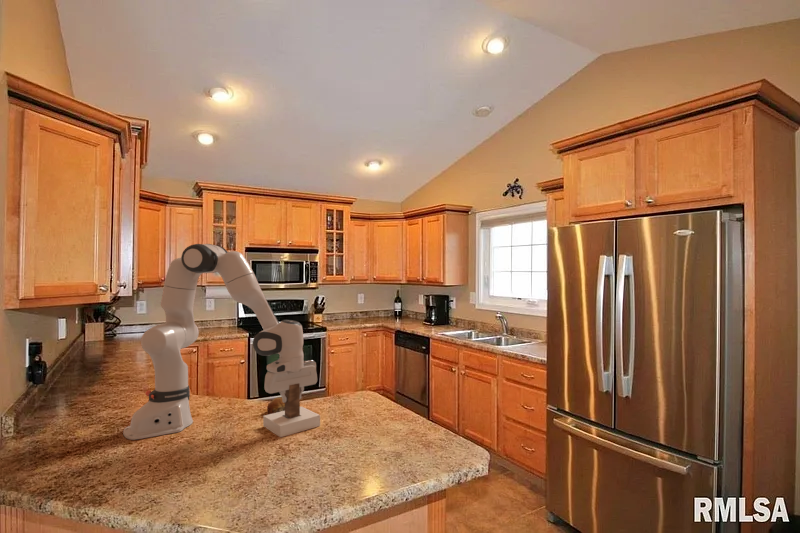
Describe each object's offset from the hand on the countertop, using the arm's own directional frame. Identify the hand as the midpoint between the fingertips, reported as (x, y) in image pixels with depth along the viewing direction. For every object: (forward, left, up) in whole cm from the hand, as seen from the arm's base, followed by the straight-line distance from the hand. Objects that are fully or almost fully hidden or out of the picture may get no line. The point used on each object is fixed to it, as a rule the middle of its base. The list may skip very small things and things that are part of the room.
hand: (292, 400), depth 158 cm
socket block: (0, 0, -10) cm, 10 cm away
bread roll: (+3, +17, -10) cm, 20 cm away
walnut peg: (0, 0, -6) cm, 6 cm away
